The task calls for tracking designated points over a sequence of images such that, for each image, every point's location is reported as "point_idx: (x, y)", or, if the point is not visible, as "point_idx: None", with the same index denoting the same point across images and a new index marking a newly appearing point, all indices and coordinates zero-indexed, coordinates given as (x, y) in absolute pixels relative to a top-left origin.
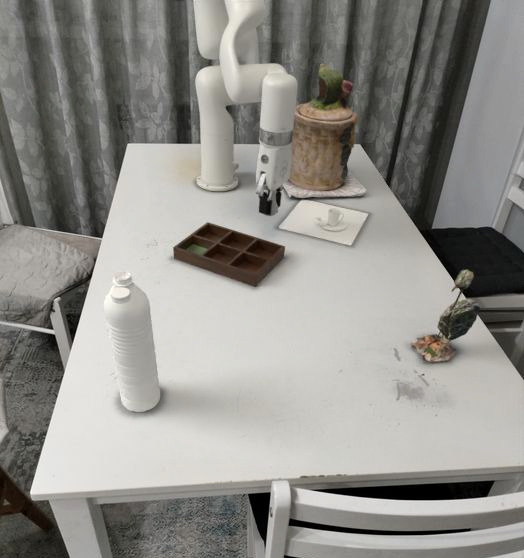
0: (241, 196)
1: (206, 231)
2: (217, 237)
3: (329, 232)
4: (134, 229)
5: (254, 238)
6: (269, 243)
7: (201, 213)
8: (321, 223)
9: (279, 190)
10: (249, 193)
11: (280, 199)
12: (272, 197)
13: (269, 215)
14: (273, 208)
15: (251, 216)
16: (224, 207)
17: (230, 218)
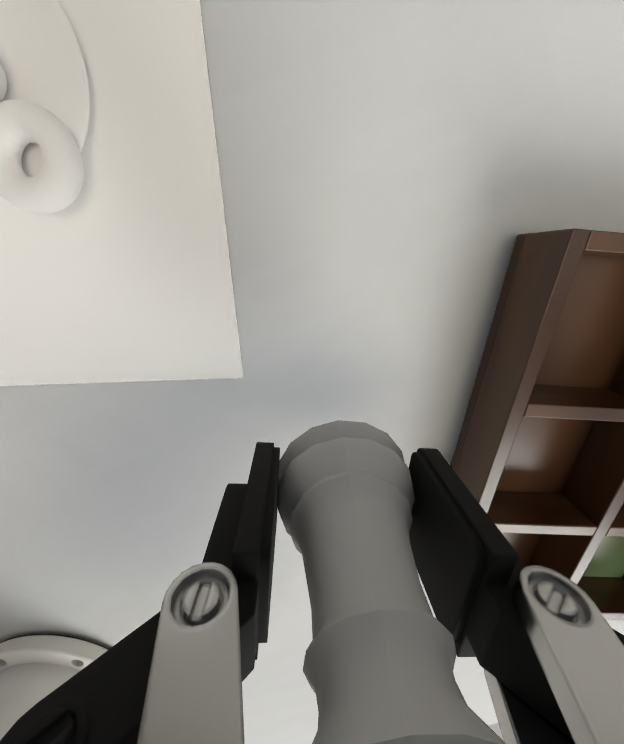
0: (88, 594)
1: None
2: None
3: (96, 58)
4: (475, 696)
5: (519, 421)
6: (551, 333)
7: (299, 630)
8: (63, 132)
9: (237, 594)
10: (39, 583)
11: (256, 486)
12: (411, 575)
13: (435, 450)
14: (391, 468)
15: (214, 507)
16: None
17: (278, 556)
